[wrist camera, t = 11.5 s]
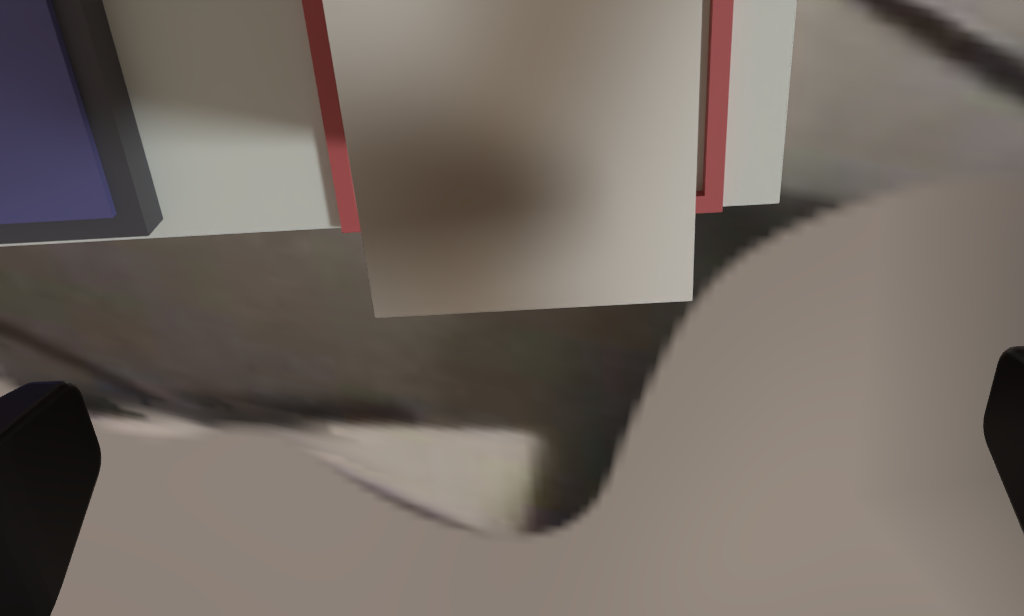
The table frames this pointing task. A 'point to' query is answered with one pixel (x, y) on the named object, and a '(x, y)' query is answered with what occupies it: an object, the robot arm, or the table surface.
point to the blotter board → (275, 117)
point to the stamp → (521, 150)
